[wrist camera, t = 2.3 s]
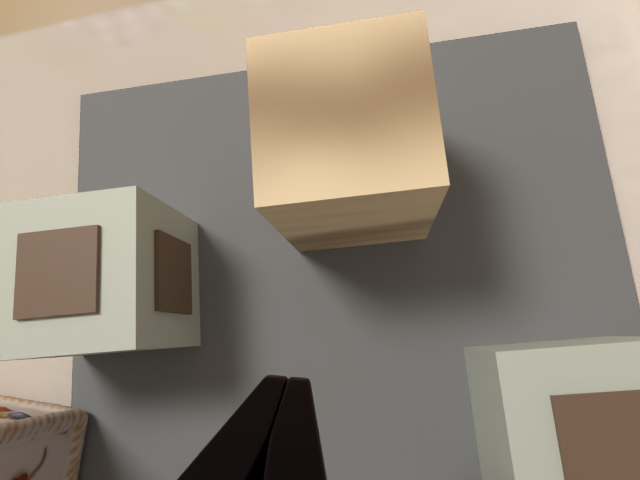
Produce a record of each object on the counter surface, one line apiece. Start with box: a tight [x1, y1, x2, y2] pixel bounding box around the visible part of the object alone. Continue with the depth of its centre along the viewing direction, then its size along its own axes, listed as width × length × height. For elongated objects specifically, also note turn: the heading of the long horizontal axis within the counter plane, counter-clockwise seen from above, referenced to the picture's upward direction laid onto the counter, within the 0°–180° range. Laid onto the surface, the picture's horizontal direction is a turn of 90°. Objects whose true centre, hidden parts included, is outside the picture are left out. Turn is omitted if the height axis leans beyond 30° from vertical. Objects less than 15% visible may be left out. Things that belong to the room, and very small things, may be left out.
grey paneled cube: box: [463, 336, 640, 480], centre depth 17 cm, size 6×6×6 cm
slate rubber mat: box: [71, 22, 640, 480], centre depth 22 cm, size 24×26×1 cm
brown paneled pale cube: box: [0, 186, 201, 361], centre depth 20 cm, size 6×6×6 cm
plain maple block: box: [246, 10, 450, 252], centre depth 19 cm, size 6×6×8 cm
